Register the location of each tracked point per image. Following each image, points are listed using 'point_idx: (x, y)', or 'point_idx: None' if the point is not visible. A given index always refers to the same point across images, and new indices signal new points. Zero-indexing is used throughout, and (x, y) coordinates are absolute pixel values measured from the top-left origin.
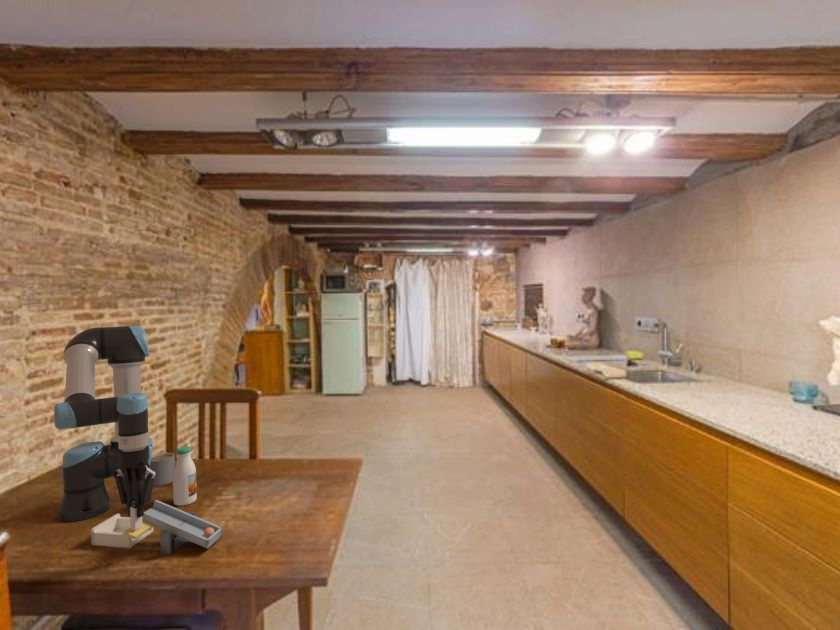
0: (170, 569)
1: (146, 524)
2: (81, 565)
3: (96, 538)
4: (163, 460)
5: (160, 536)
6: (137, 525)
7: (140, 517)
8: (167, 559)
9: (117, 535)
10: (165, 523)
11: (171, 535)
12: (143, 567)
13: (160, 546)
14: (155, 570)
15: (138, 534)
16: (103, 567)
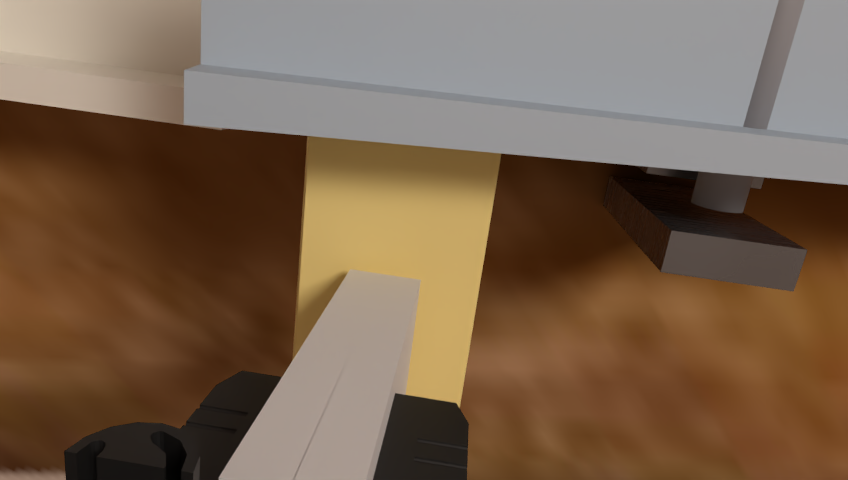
0: (787, 403)
1: (422, 181)
2: (90, 340)
3: None
4: None
5: (651, 256)
6: (404, 380)
7: (401, 372)
8: None
9: (92, 111)
10: (703, 170)
11: (779, 236)
12: (560, 374)
13: (619, 222)
14: (674, 411)
15: (456, 382)
16: (264, 366)
